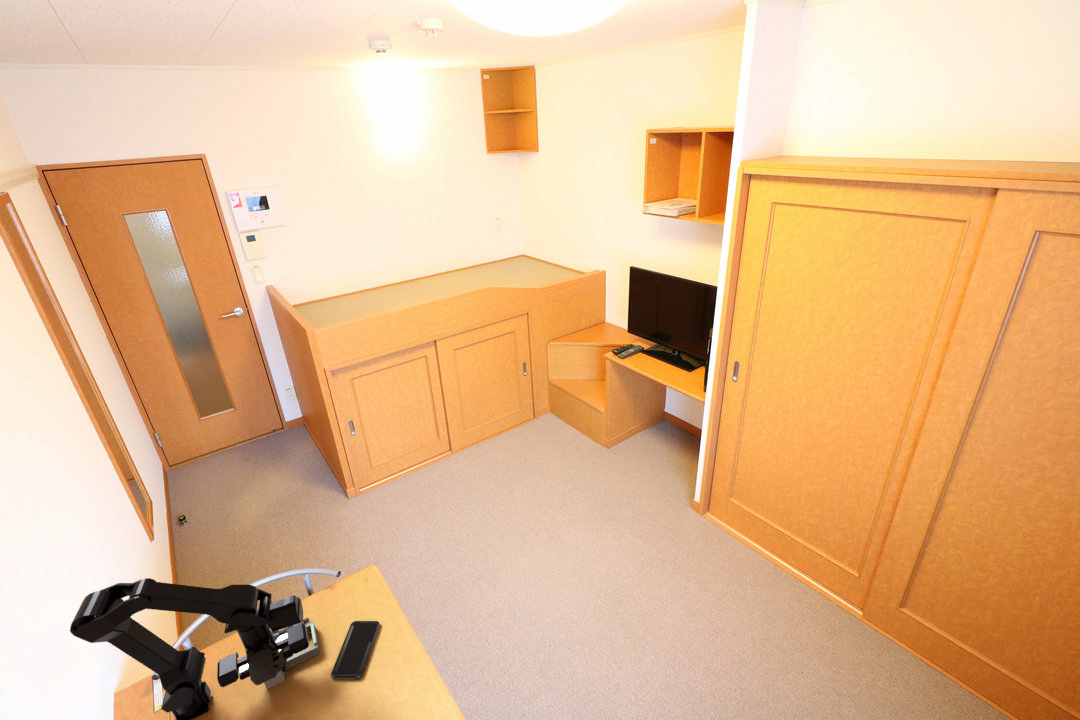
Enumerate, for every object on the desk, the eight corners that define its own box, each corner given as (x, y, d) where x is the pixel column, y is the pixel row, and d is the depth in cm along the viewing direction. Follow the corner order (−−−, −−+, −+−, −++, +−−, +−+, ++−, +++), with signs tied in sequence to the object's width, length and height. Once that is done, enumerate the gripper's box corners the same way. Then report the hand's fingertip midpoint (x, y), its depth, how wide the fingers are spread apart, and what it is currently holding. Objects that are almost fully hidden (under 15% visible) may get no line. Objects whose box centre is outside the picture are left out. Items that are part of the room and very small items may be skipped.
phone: (329, 677, 120) (352, 620, 134) (330, 680, 121) (352, 623, 134) (361, 678, 120) (381, 621, 133) (362, 680, 120) (381, 623, 134)
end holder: (284, 669, 123) (281, 661, 122) (281, 642, 129) (278, 634, 128) (319, 653, 126) (317, 645, 125) (315, 627, 133) (312, 619, 132)
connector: (266, 689, 119) (258, 671, 116) (265, 674, 122) (258, 657, 119) (285, 680, 121) (277, 663, 118) (283, 666, 124) (276, 649, 121)
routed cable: (265, 646, 129) (262, 641, 128) (264, 638, 131) (262, 633, 130) (310, 626, 133) (308, 620, 132) (309, 619, 135) (307, 613, 134)
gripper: (207, 686, 103) (230, 728, 110) (303, 641, 111) (319, 684, 118) (208, 642, 112) (230, 684, 119) (297, 604, 120) (313, 645, 127)
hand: (274, 675), depth 121 cm, fingers closed on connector, 4 cm apart
